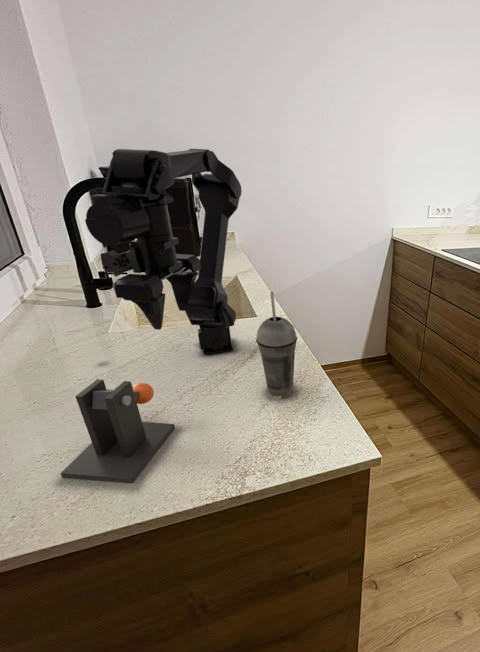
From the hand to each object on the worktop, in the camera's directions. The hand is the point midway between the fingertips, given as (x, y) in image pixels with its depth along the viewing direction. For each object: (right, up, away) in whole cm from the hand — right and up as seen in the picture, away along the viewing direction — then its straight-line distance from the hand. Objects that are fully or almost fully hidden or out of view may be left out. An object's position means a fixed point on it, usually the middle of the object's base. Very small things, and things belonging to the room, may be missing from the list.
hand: (170, 319), depth 72 cm
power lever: (0, -14, -14) cm, 20 cm away
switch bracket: (0, -22, -14) cm, 26 cm away
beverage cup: (+20, -14, +3) cm, 25 cm away
